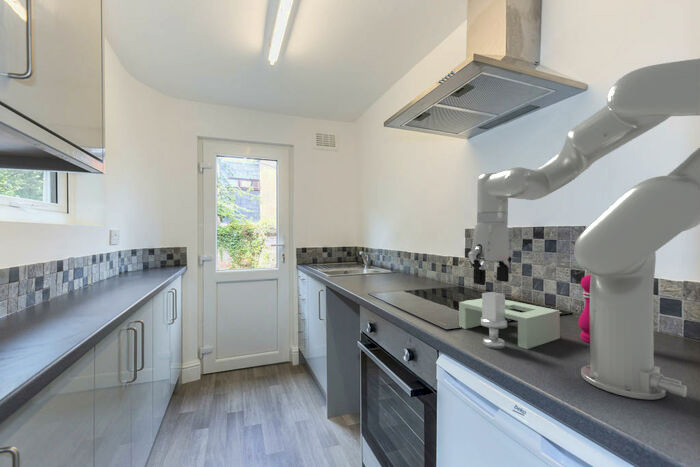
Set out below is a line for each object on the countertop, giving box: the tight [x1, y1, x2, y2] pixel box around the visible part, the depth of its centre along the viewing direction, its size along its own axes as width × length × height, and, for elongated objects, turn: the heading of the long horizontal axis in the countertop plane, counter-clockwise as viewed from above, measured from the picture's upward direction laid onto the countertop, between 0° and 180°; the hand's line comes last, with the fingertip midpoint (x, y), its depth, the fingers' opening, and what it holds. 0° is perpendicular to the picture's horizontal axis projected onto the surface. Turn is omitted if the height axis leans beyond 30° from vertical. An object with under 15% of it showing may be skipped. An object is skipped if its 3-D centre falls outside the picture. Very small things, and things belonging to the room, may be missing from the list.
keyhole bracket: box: [458, 297, 561, 350], centre depth 93 cm, size 22×16×8 cm
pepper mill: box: [578, 273, 591, 344], centre depth 85 cm, size 7×7×20 cm
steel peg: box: [480, 291, 508, 350], centre depth 82 cm, size 6×6×14 cm
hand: (491, 282), depth 83 cm, fingers open, 9 cm apart
